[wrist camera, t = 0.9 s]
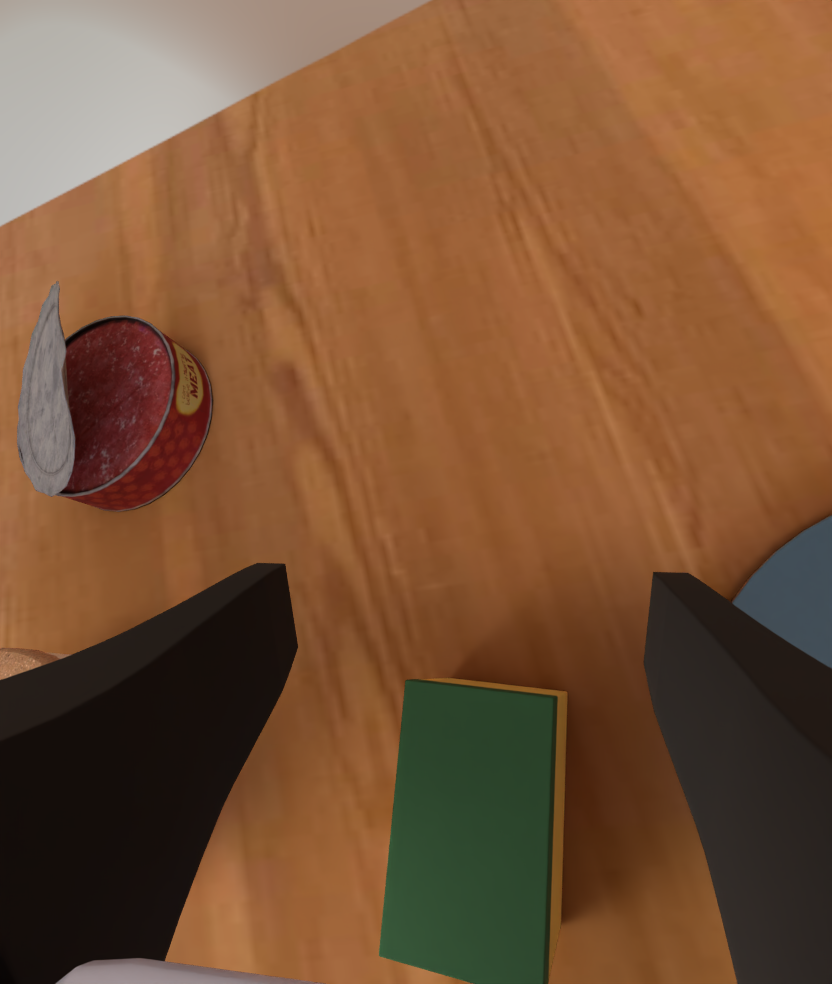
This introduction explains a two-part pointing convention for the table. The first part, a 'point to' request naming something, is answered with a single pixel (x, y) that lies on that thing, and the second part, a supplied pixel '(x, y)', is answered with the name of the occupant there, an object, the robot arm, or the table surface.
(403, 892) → the sponge
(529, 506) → the table surface
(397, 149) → the table surface
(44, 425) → the canned food
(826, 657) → the plate
